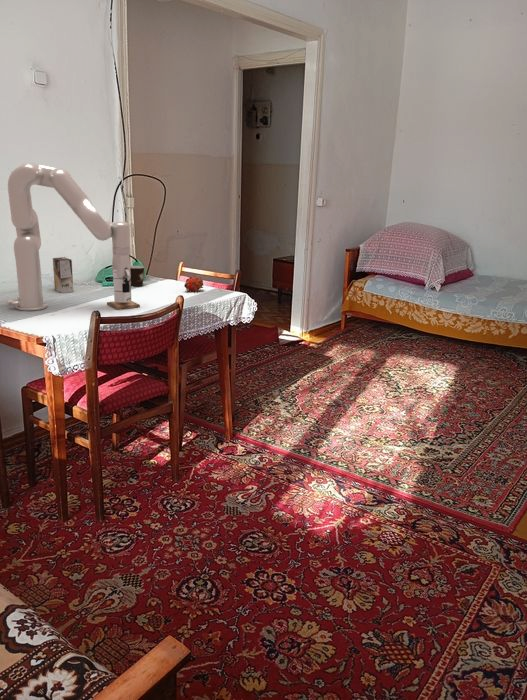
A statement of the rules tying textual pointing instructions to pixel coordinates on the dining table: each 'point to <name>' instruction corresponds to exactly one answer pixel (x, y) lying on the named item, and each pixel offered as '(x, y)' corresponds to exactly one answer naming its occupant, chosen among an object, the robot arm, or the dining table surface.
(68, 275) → the coffee box
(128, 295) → the syrup box
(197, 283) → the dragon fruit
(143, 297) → the dining table surface
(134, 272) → the coffee mug
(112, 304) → the walnut board
